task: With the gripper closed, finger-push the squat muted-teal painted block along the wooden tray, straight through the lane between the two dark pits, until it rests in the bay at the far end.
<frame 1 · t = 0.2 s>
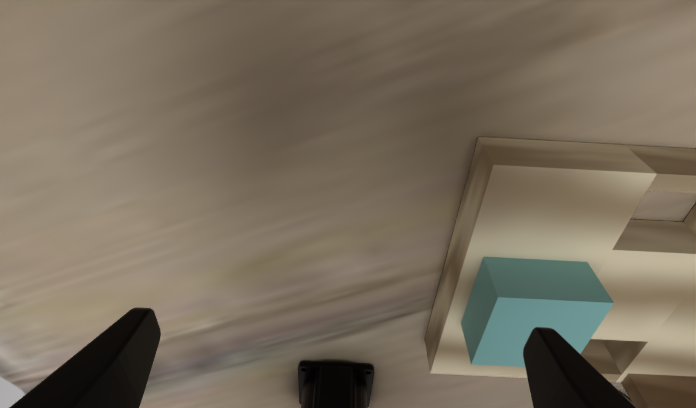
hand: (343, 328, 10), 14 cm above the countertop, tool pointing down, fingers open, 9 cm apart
wooden tray: (607, 265, 27), on the countertop
block: (519, 294, 25), point 3 cm above the countertop, touching wooden tray
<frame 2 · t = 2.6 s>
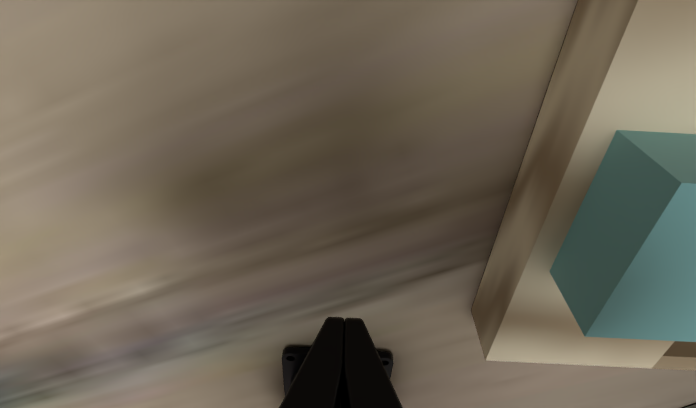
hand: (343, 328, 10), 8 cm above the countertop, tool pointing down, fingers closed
block: (664, 213, 14), point 3 cm above the countertop, touching wooden tray
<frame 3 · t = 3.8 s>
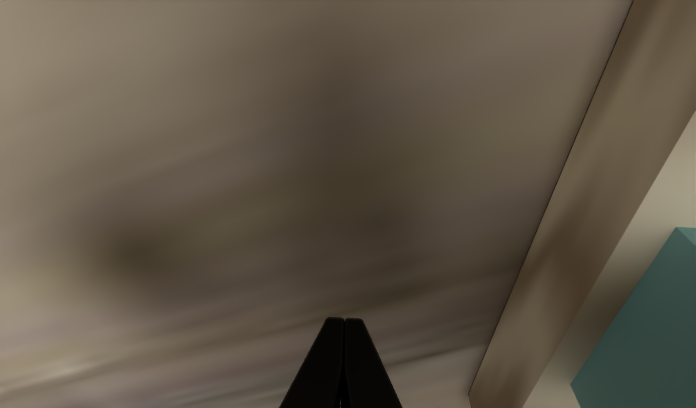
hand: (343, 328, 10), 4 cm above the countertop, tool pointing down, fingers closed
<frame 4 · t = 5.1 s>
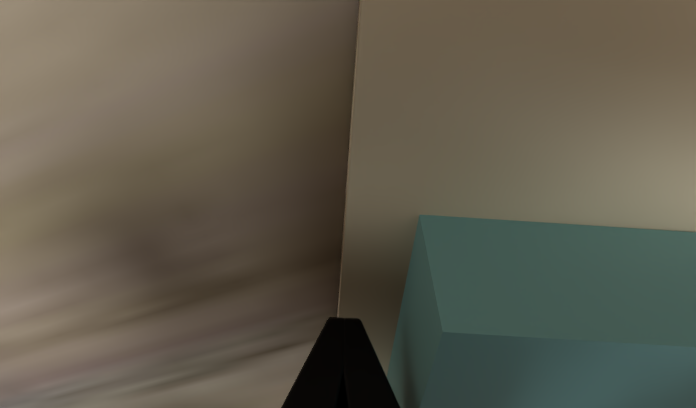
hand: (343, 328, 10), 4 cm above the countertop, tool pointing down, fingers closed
wooden tray: (685, 251, 13), on the countertop
block: (516, 315, 10), point 3 cm above the countertop, touching wooden tray, gripper
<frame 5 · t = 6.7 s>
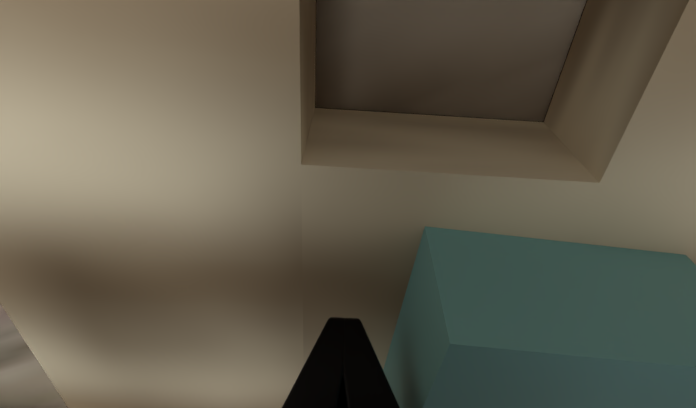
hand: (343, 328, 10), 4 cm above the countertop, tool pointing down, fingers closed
wooden tray: (407, 233, 13), on the countertop
block: (510, 326, 11), point 3 cm above the countertop, touching gripper
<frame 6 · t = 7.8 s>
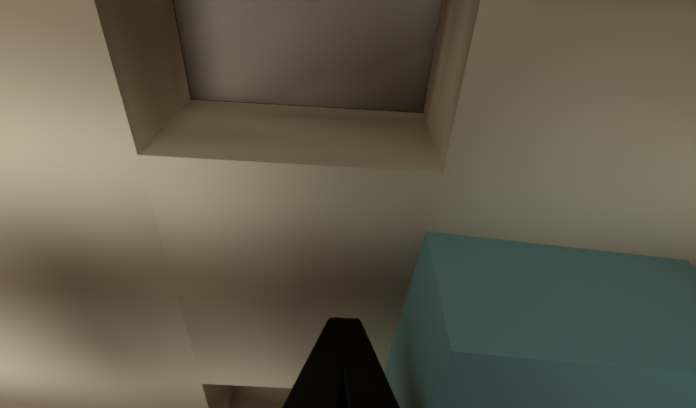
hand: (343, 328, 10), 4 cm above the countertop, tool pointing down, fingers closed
wooden tray: (307, 227, 13), on the countertop
block: (511, 330, 11), point 3 cm above the countertop, touching wooden tray, gripper
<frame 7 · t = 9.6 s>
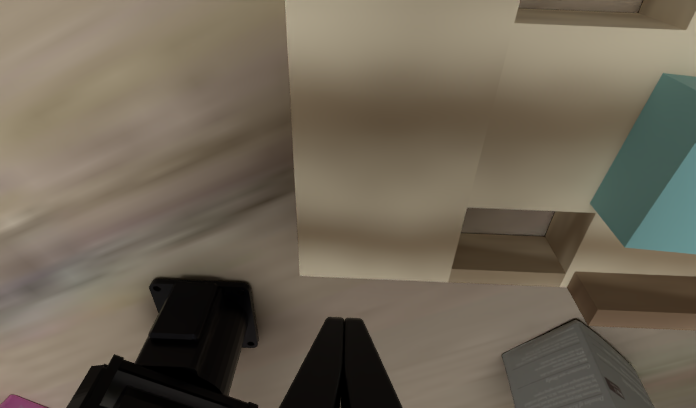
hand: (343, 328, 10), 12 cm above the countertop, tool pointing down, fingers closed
skincare box: (559, 357, 31), on the countertop
wooden tray: (535, 103, 19), on the countertop
block: (692, 152, 17), point 3 cm above the countertop, touching wooden tray
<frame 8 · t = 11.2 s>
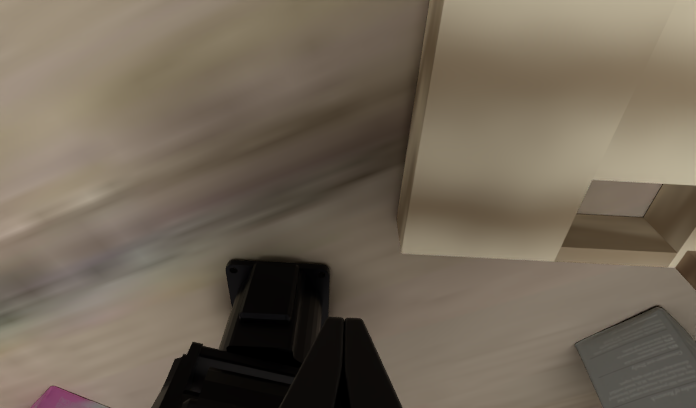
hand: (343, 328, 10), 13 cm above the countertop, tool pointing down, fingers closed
skincare box: (631, 346, 30), on the countertop
wooden tray: (661, 73, 18), on the countertop
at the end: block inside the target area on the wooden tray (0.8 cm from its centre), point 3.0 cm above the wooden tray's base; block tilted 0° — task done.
